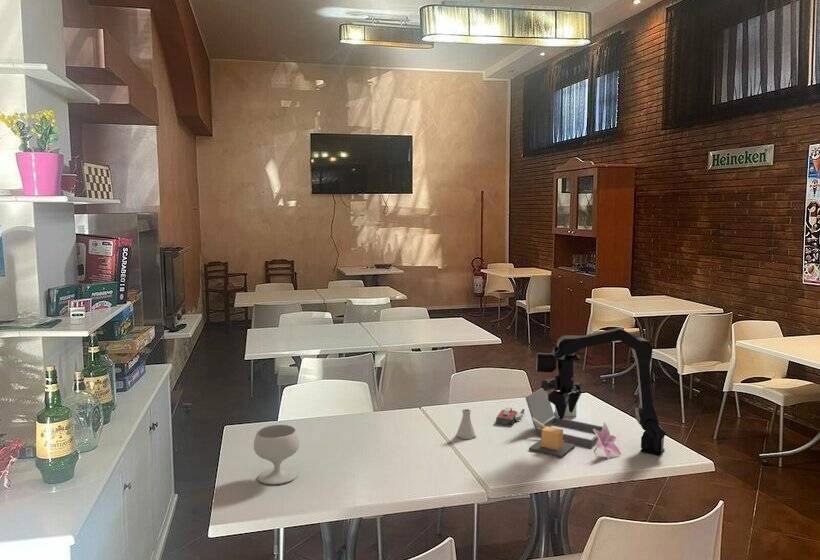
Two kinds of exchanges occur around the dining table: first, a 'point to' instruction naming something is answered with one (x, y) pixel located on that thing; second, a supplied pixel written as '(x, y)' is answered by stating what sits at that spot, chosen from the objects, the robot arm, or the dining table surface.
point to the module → (552, 438)
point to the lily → (606, 441)
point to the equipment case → (556, 419)
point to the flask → (466, 426)
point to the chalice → (276, 452)
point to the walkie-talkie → (509, 416)
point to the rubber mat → (552, 452)
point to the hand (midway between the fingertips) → (566, 415)
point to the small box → (568, 411)
